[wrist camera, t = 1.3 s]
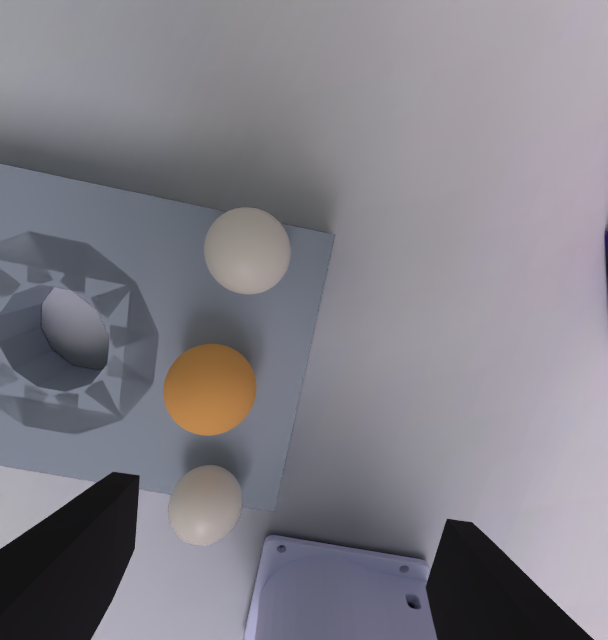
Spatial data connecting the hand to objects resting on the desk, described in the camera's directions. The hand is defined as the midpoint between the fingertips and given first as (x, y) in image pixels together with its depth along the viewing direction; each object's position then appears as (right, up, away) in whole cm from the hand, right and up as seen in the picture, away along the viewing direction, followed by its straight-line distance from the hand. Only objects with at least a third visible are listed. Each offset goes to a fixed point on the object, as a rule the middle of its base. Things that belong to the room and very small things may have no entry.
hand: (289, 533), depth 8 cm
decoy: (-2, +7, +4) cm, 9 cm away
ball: (-3, +2, +5) cm, 7 cm away
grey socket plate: (-7, +4, +9) cm, 12 cm away
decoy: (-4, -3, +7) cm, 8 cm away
